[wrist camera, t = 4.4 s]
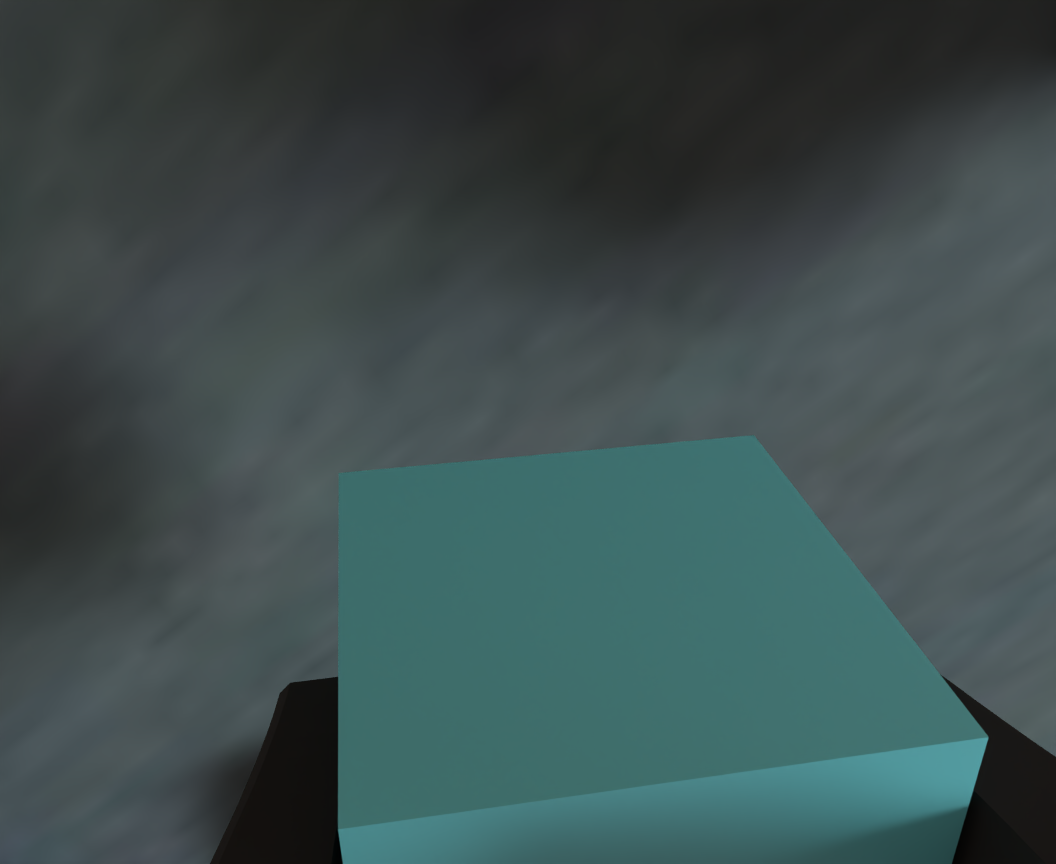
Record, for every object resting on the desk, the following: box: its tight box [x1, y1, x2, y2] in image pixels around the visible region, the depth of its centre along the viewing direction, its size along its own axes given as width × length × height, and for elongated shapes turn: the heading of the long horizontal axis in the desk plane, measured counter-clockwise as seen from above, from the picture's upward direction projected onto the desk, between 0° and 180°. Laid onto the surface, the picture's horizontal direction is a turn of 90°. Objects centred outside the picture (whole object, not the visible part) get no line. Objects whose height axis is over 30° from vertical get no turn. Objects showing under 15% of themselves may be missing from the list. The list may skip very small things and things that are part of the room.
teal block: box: [338, 435, 989, 864], centre depth 10 cm, size 4×4×4 cm
